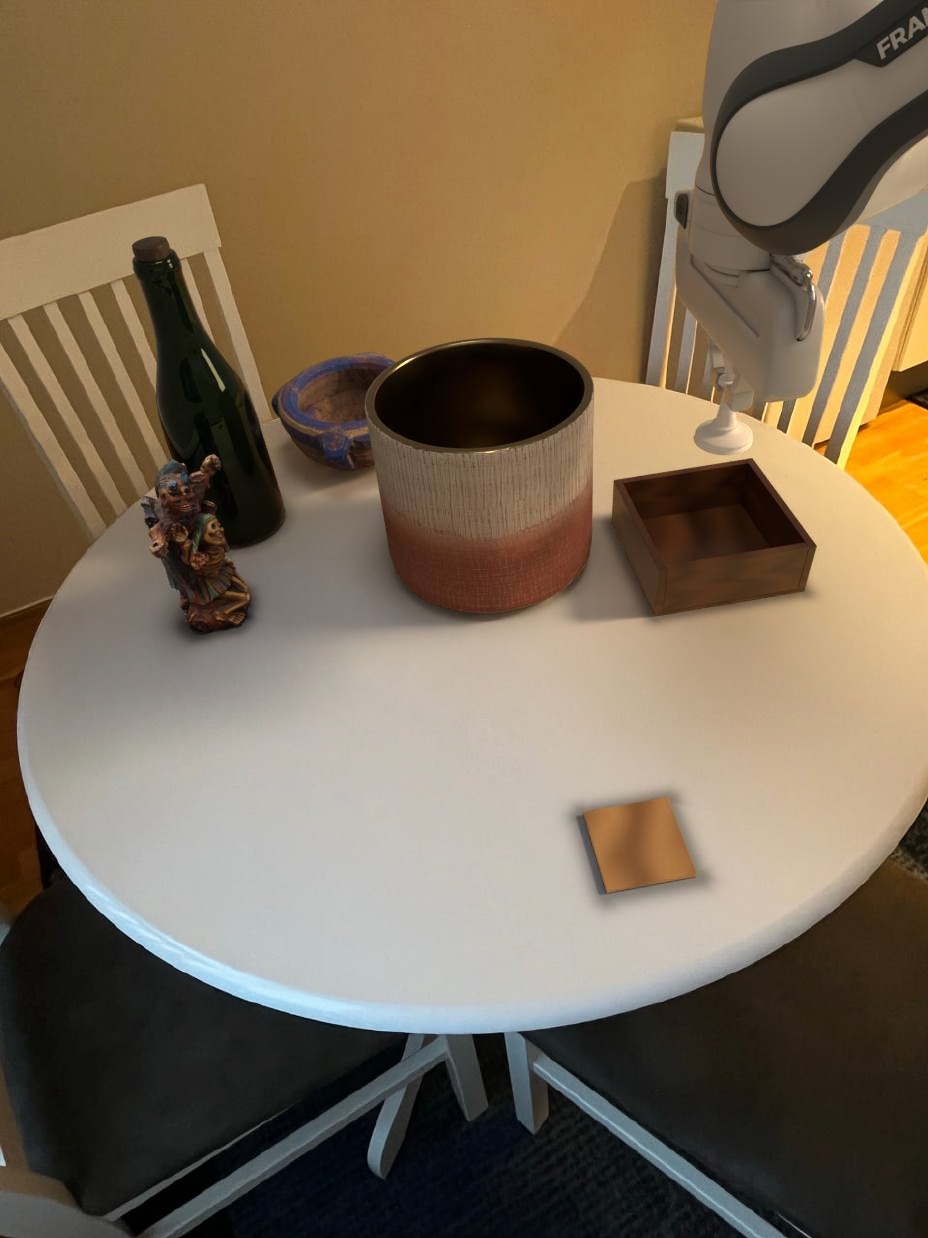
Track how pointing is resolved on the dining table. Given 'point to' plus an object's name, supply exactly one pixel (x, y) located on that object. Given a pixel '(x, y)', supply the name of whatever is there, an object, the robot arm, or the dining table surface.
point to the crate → (710, 536)
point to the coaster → (638, 845)
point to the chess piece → (724, 425)
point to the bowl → (331, 410)
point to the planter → (485, 471)
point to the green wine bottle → (206, 402)
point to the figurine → (195, 548)
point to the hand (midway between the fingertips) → (729, 396)
